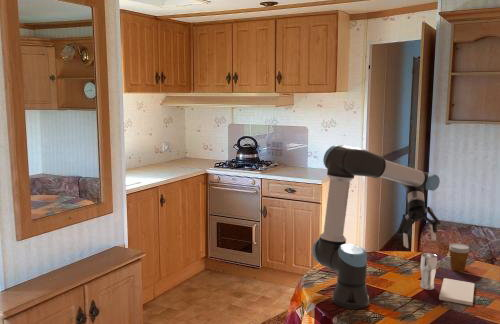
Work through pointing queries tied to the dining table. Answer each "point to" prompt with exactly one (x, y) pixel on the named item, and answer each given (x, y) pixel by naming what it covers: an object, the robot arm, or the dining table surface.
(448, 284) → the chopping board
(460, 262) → the disposable coffee cup
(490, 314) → the dining table surface
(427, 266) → the beer glass
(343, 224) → the robot arm
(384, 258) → the dining table surface
